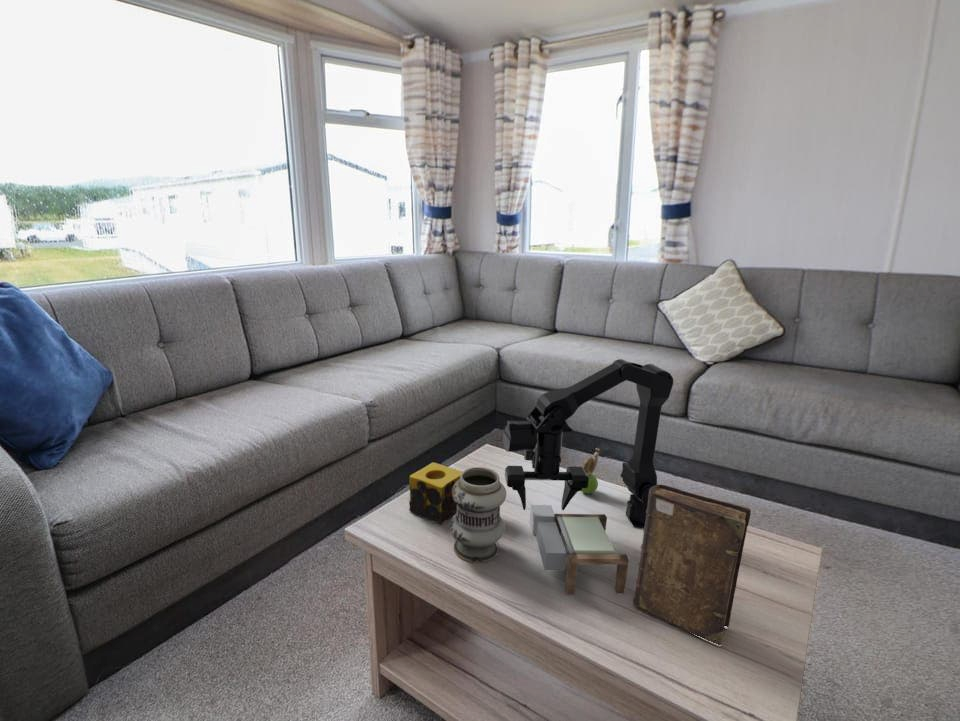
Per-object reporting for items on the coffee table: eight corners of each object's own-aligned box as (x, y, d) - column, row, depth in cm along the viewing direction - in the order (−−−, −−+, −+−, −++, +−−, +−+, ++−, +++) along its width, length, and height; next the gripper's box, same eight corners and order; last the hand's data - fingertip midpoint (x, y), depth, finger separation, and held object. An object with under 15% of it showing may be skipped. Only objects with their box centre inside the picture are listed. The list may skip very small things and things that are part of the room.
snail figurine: (602, 491, 144) (607, 451, 141) (590, 499, 139) (594, 458, 136) (585, 484, 147) (589, 445, 144) (572, 491, 143) (577, 451, 140)
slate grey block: (549, 523, 128) (551, 505, 126) (553, 535, 123) (555, 516, 121) (529, 523, 127) (530, 504, 126) (532, 535, 122) (533, 516, 121)
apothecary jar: (451, 567, 109) (454, 490, 105) (446, 534, 121) (448, 463, 116) (508, 564, 111) (513, 488, 107) (497, 531, 123) (502, 461, 118)
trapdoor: (595, 536, 117) (597, 516, 115) (612, 572, 105) (614, 551, 103) (535, 536, 116) (537, 516, 114) (545, 572, 104) (547, 550, 103)
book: (628, 605, 101) (645, 489, 94) (643, 587, 106) (660, 475, 100) (719, 652, 91) (745, 525, 84) (730, 629, 96) (755, 508, 90)
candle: (465, 508, 132) (466, 472, 130) (441, 526, 124) (442, 488, 122) (433, 495, 138) (433, 460, 135) (408, 512, 129) (408, 475, 127)
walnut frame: (601, 545, 120) (605, 514, 117) (623, 593, 104) (628, 559, 102) (551, 545, 119) (554, 513, 117) (566, 593, 103) (570, 558, 101)
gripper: (580, 435, 128) (574, 492, 132) (504, 433, 127) (500, 491, 131) (592, 455, 117) (585, 516, 121) (509, 453, 116) (505, 516, 120)
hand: (543, 509), depth 124 cm, fingers open, 9 cm apart
